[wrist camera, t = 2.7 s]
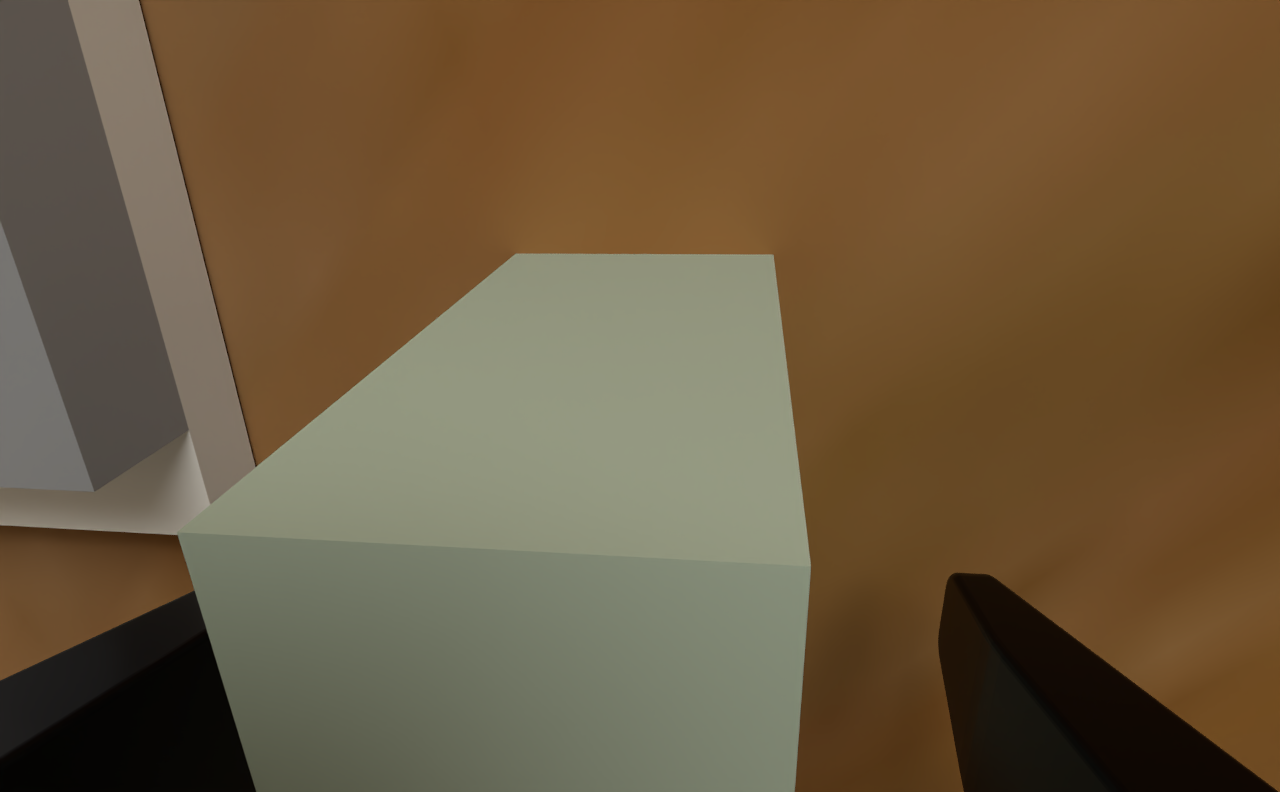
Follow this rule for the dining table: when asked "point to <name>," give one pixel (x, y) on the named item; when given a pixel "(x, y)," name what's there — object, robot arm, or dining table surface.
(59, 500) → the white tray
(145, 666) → the robot arm
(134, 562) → the dining table surface
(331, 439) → the pale green block
